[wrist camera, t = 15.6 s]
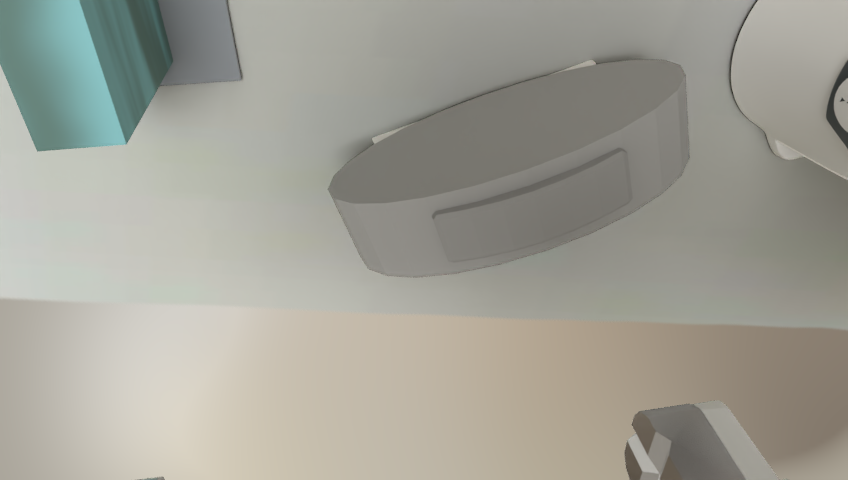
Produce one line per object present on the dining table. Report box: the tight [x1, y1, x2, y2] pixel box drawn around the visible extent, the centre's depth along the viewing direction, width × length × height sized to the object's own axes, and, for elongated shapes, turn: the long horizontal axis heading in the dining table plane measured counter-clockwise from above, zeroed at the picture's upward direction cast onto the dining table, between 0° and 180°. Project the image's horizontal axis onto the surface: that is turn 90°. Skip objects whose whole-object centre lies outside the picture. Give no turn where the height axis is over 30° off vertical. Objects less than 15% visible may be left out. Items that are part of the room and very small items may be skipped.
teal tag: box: [0, 0, 173, 151], centre depth 31 cm, size 4×8×12 cm, turn 1°
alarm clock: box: [328, 59, 690, 277], centre depth 40 cm, size 23×6×13 cm, turn 107°
